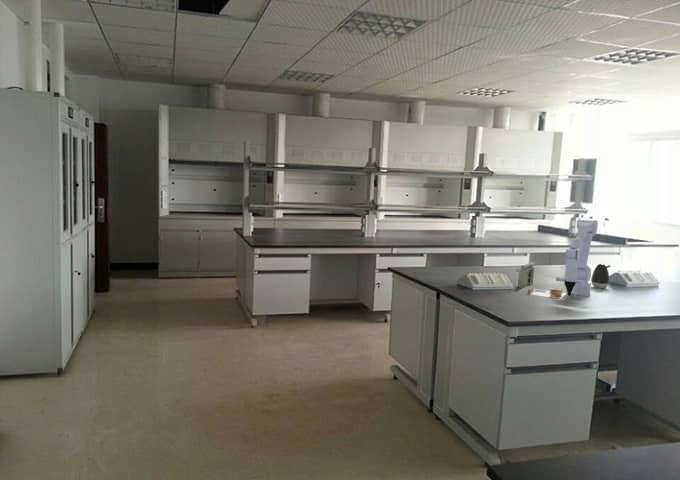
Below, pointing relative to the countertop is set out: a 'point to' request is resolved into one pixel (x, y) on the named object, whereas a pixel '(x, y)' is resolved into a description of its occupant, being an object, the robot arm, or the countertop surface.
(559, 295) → the block
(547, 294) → the trap board
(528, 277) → the geiger counter
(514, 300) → the countertop surface
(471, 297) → the countertop surface
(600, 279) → the potted cactus
